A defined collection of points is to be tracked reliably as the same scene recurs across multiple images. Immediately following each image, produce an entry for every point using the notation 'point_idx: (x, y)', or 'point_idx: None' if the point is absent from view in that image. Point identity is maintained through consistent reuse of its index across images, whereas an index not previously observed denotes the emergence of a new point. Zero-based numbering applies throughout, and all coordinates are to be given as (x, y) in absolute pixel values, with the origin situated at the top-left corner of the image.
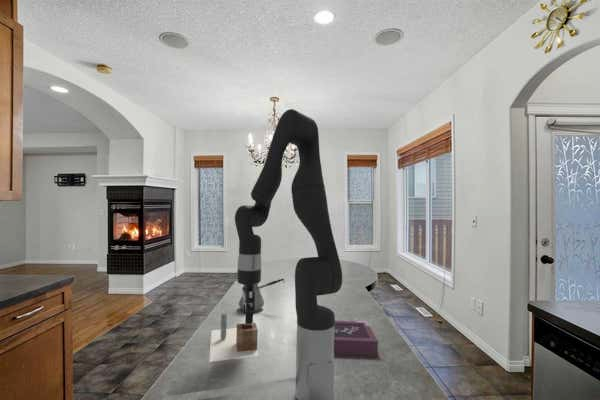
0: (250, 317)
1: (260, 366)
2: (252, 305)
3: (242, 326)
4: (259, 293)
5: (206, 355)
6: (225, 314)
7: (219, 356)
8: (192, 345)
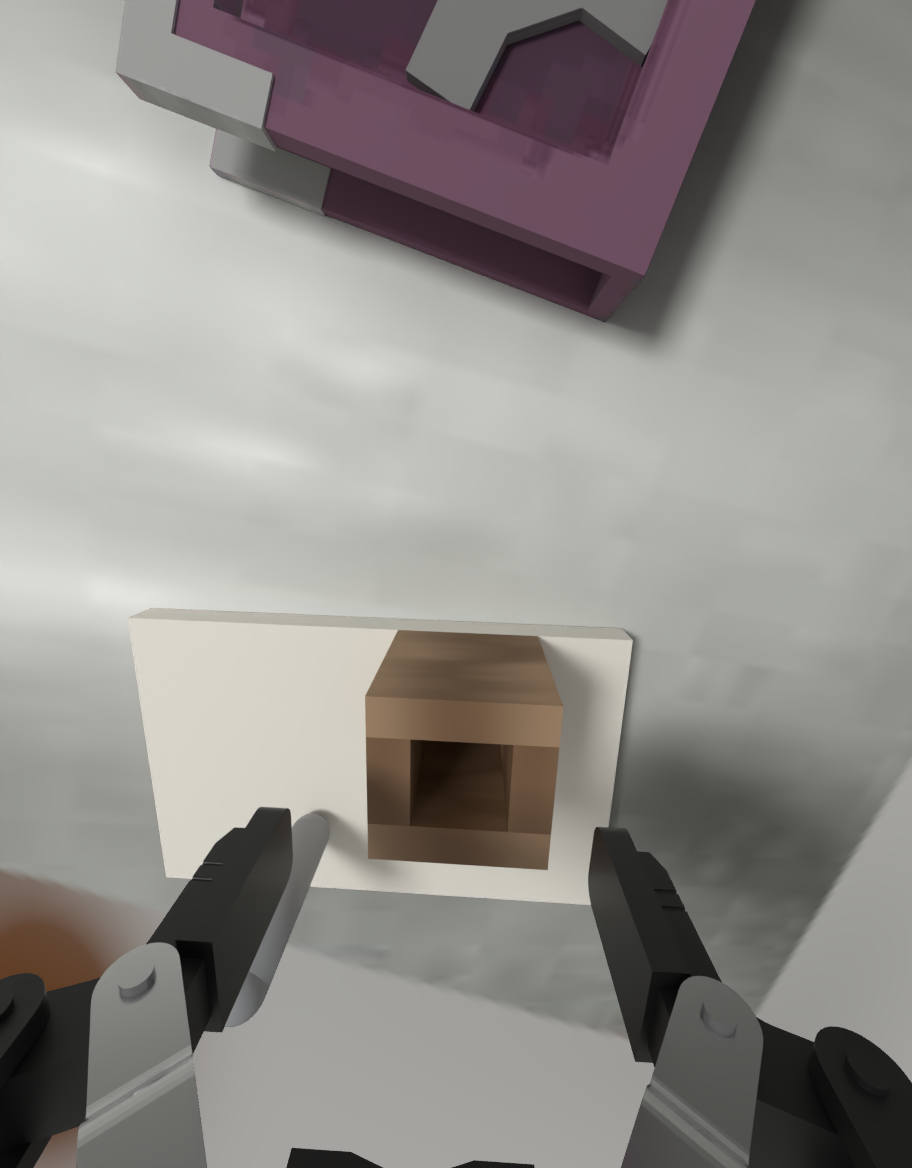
0: (682, 926)
1: (688, 628)
2: (747, 1122)
3: (412, 810)
4: None
5: None
6: (239, 1002)
7: (554, 856)
8: (316, 943)
